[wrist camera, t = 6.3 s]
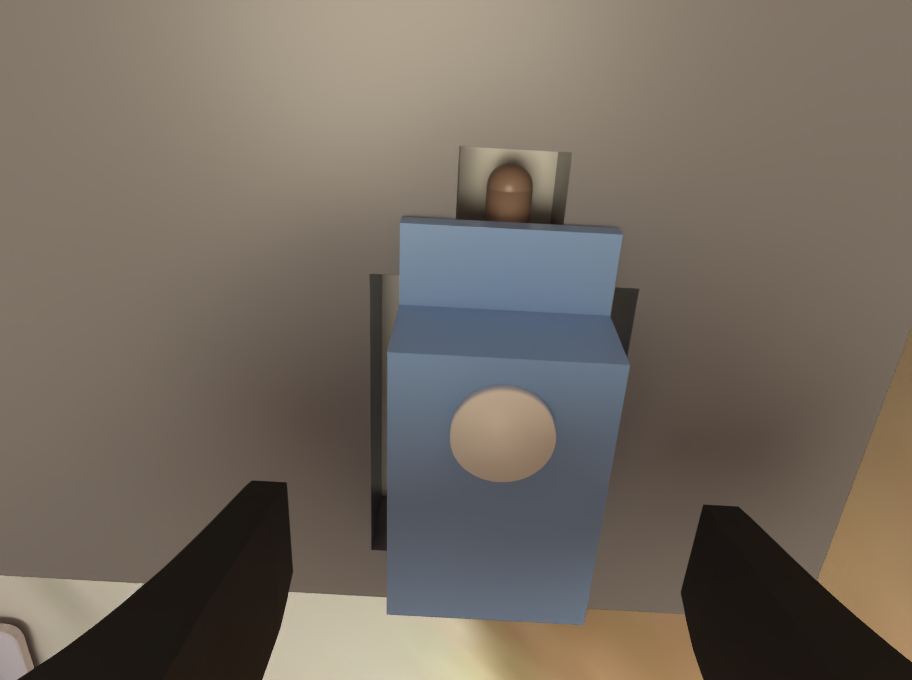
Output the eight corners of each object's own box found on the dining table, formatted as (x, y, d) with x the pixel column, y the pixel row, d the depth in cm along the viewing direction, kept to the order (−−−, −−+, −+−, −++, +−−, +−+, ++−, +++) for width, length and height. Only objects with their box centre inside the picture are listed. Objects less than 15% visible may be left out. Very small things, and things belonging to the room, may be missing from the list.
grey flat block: (-15, 492, 20) (-90, 570, 17) (-232, -204, 13) (-416, -253, 10) (758, 536, 20) (801, 620, 17) (968, -138, 13) (1097, -171, 10)
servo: (405, 526, 19) (384, 680, 15) (412, 147, 14) (385, 212, 10) (554, 535, 19) (576, 691, 15) (607, 157, 14) (660, 227, 10)
